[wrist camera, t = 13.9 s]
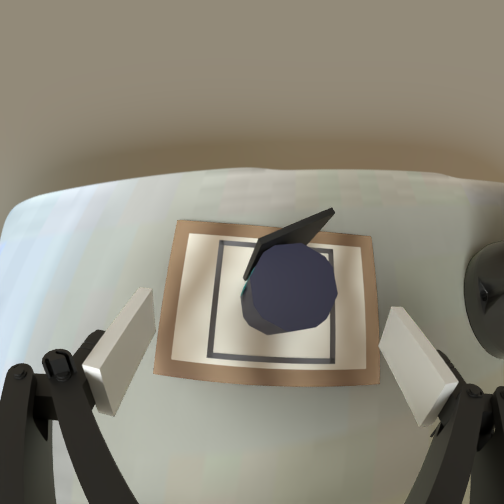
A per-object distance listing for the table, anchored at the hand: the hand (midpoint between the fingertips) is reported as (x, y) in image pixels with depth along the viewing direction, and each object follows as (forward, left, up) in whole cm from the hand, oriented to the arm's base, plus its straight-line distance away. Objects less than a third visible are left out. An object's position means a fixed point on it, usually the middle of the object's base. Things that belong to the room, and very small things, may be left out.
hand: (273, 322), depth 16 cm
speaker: (+2, -4, -10) cm, 11 cm away
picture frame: (+2, -4, -11) cm, 12 cm away
